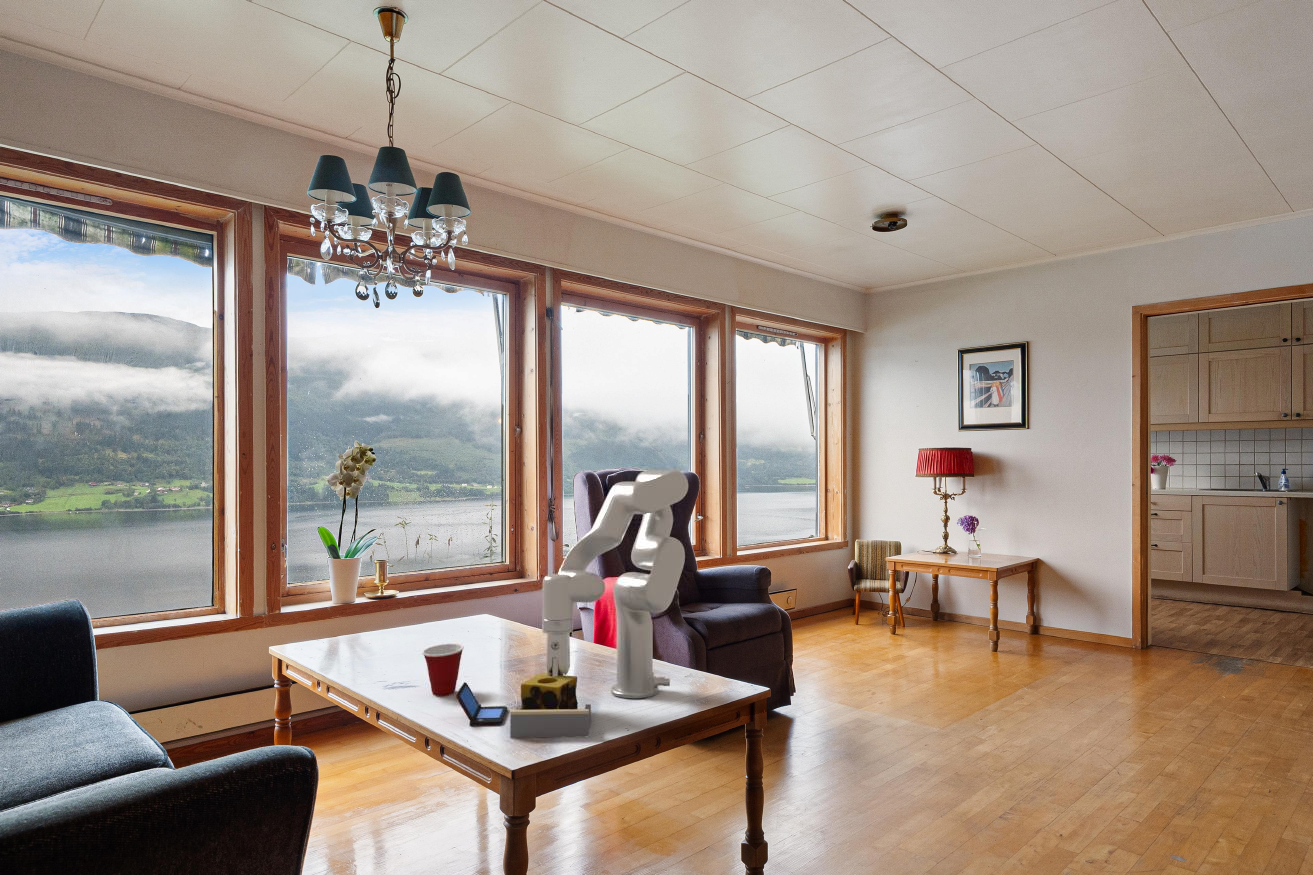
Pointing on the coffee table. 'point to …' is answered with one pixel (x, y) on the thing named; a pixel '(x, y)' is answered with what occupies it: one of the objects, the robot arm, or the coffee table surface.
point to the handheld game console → (479, 709)
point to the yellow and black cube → (549, 692)
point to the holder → (550, 722)
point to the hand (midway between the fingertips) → (557, 700)
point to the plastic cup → (443, 667)
